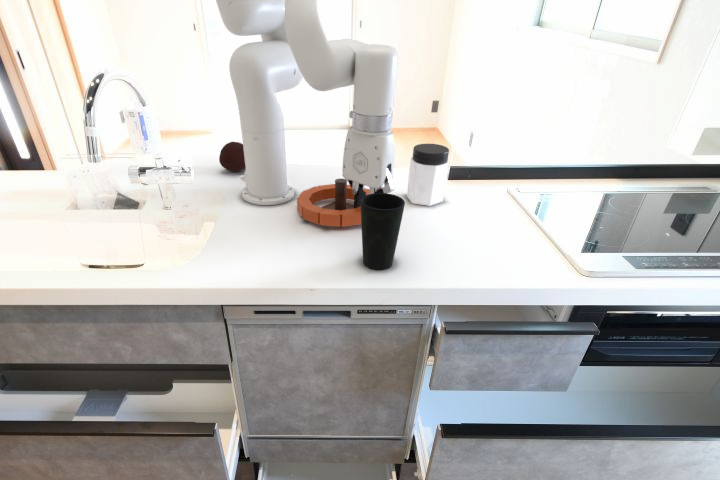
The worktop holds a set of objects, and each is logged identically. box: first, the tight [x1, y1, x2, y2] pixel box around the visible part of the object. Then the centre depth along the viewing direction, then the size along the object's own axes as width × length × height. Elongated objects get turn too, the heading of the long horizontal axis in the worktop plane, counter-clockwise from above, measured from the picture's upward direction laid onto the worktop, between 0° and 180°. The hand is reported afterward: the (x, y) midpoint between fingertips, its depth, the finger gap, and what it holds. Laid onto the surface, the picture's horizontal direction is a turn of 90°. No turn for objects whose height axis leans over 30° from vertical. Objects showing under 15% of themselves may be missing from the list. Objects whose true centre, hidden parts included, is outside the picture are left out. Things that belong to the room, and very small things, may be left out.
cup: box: [360, 193, 406, 271], centre depth 80 cm, size 8×8×12 cm
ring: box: [296, 183, 370, 228], centre depth 100 cm, size 18×18×3 cm
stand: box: [320, 178, 354, 210], centre depth 99 cm, size 8×8×8 cm
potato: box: [218, 141, 246, 173], centre depth 121 cm, size 8×9×8 cm
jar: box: [406, 143, 450, 207], centre depth 105 cm, size 9×8×12 cm
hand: (365, 212), depth 96 cm, fingers closed on ring, 2 cm apart
